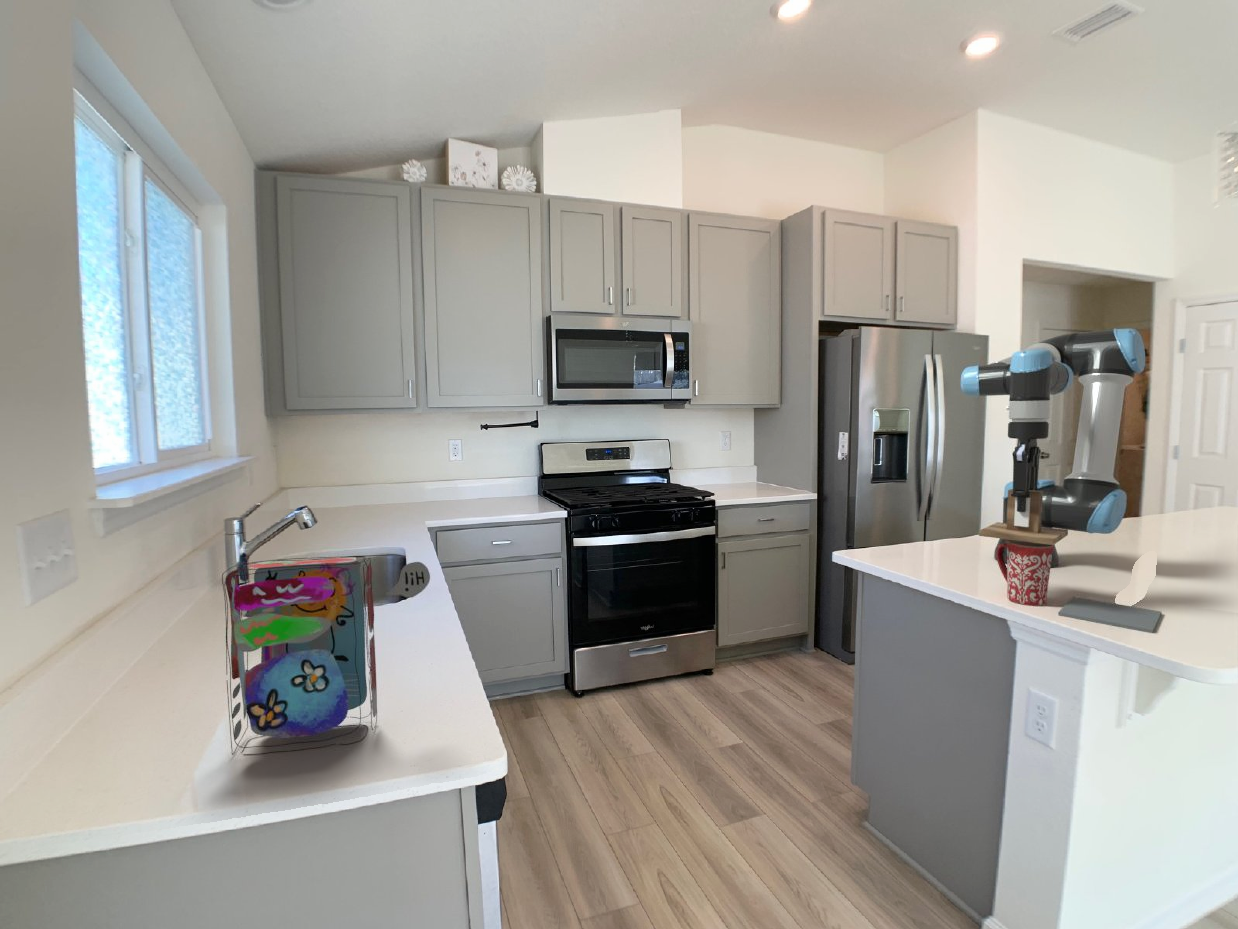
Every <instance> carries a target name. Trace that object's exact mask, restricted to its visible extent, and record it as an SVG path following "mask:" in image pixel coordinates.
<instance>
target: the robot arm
mask: <svg viewBox="0 0 1238 929" xmlns="http://www.w3.org/2000/svg"><path fill="white" fill-rule="evenodd" d="M1145 350H1146V349H1145V344H1144V340H1143V338H1142V335H1141V334H1140V332H1139V331H1138V330H1137V329H1135V328H1112V329H1106V330H1105V329H1104V330H1096V331H1095V330H1094V331H1085V332H1084V331H1083V332H1072V333H1065V334H1060V335H1057V336H1054V337H1051V338H1048V339H1044V340H1041V341H1039V342H1037V343H1033V344H1032V345H1030V346H1028V347H1026V349H1025V350H1019V351H1015V352H1014V353H1012V355H1011V356H1008V357H1007V358H1004V359H1001V360H998V361H996V362H992V363H989V364H984V365H978V364H977V365H974V366H967V367H965V368H964V370H963V371H962V372H961V377H960V388H961V391H962V393H963V394H964V395H965V396H968V397H989V396H991V397H992V396H993V397H994V396H1009V403H1008V404H1009V405H1007V406H1006V407H1005V409H1006V410H1007V411H1008V419H1010V420H1011V421H1009V423H1007V424H1008V425H1007V437H1008V438H1009V439H1017V444H1016V446H1015V447H1014V451H1012V461H1013V464H1012V465H1013V466H1012V467H1013V468H1012V481H1010V482H1007V483H1006V484H1005V485H1004V491H1003V497H1002V500H1003V505H1002V507H1003V509H1002V510H1003V511H1002V523H1007V502H1008V490H1010V489H1013V494H1011V497H1015V517H1014V526H1023V527H1029V518H1030V498H1028V497H1029V490H1033V491H1043V498H1042V519H1041V527H1046V528H1056V529H1065V530H1068V531H1076V532H1083V533H1088V534H1101V535H1102V534H1104V535H1106V534H1109V535H1110V534H1112V533H1113V532H1115V531H1116V530H1117V529H1118V528H1119V526H1120V525H1121V523H1122V521H1123V519H1124V515H1125V513H1126V510H1127V499H1128V498H1127V493H1126V491H1124V490H1122V489H1121V488H1120V483H1119V481H1118V480H1116V479H1115V477H1114V471H1115V465H1116V456H1117V450H1118V449H1117V447H1118V442H1119V434H1120V433H1119V432H1120V428H1121V427H1120V426H1121V420H1122V411H1123V407H1124V406H1123V404H1124V398H1125V389H1126V387H1127V386H1128V385H1130V384H1132V383H1133V382H1134V378H1135V374H1136V375H1137V374H1140V373H1142V372H1144V370H1145V367H1146V351H1145ZM1075 376H1077V381H1078V382H1079V383H1080V384H1081V385H1083V392H1082V398H1081V405H1080V412H1079V413H1080V414H1079V418H1078V420H1079V421H1078V426H1077V427H1078V428H1077V435H1076V443H1075V450H1074V455H1073V463H1072V470H1071V471H1072V472H1071V473H1070V474H1069V475H1067V476H1065V477H1064V479H1063V484H1062V485H1058V484H1057V485H1056V482H1055V479H1047V478H1046V479H1044V478H1043V479H1041V478H1040V479H1039V469H1040V468H1039V466H1040V458H1041V452H1042V450H1041V448H1040V446H1038V440H1043V439H1044V440H1045V439H1047V438H1048V437H1049V429H1050V428H1049V427H1050V426H1049V425H1050V423H1049V422H1048V421H1047V420H1049V419H1050V414H1051V413H1050V412H1051V411H1050V410H1051V408H1050V406H1051V401H1050V400H1051V395H1057V394H1061V393H1064V392H1066V390H1068V389H1069V388H1070V387H1071V386H1072V384H1073V382H1074V377H1075ZM998 539H999V540H998V542H997V544H996V546H995V548H994V556H993V558H994V559H995V560H996V561H997V549H998V547H999V545H1001V544H1005V543H1007V542H1006V540H1007V539H1000V538H998ZM1003 556H1004V561H1005V564H1007V547H1006V548H1005V549H1004V553H1003ZM1059 560H1060V557H1059V554H1058V551H1057V548H1056V544H1054V548H1053V552H1052V560H1051V567H1050V568H1055V567H1057V566H1059Z"/></svg>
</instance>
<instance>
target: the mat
mask: <svg viewBox="0 0 1238 929" xmlns="http://www.w3.org/2000/svg"><path fill="white" fill-rule="evenodd" d="M1162 612H1163V611H1160V610H1154V609H1149V608H1142V607H1138V606H1137V607H1136V606H1132V605H1131V606H1130V605H1124V604H1118V603H1113V602H1107V601H1101V600H1095V599H1090V598H1083V597H1078V596H1072V597H1071V599H1069V600H1068V602H1066V604H1064V605H1063V607H1062V608H1061V609H1060V610H1059V611H1058V612H1057V613H1058V616H1061V617H1067V618H1072V619H1078V620H1082V621H1087V622H1094V623H1098V624H1104V625H1109V626H1113V627H1117V628H1118V627H1120V628H1125V629H1130V630H1135V631H1141V632H1144V633H1151V634H1153V633H1155V632H1154V631H1155V629H1156V627H1157V625H1158V623H1159V620H1160V618H1161V617H1162Z"/></svg>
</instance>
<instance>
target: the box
mask: <svg viewBox="0 0 1238 929" xmlns="http://www.w3.org/2000/svg"><path fill="white" fill-rule="evenodd" d="M357 558H358V559H363V560H362V561H359V560H357ZM366 559H367V560H366ZM365 560H366V561H365ZM368 561H369V563H368ZM361 563H365V564H363V565H362V566H363V567H362V572H363V575H365V577H363V588H362V582H361V572H360V571H361V570H360V569H361ZM371 563H372V562H371V558H370V557H368V558H366V556H363V555H352V556H349V555H348V556H345V557H337V556H328V557H327V556H323V557H319V556H318V557H316V558H312V559H307V557H300V558H299V557H295V558H292V559H288V558H283V559H282V558H281V559H276V560H275V559H270V560H269V559H268V560H267V561H265V560H261V561H258V562H257V561H252V562H251V561H250V562H246V563H245V564H242V565H238V564H236V565H233V566H232V567H229V568H228V569H226V570H225V571H224V572H222V574H221V583H222V589H223V590H222V591H223V595H224V596H223V597H224V598H225V599H224V607H225V612H224V613H225V615H226V617H225V647H226V648H225V650H226V651H225V653H226V656H225V657H226V661H225V664H226V674H228V664H230V665H229V683H228V681H226V690H227V694H229V692H230V696H232V699H234V700H235V699H236V698H237V696H238V695H239V692H240V691H241V698H242V706H243V710H242V711H243V720H245V719H246V723H247V724H246V725H247V726H246V729H245V731H244V733H243V734H242V736H241V738H240V739H239V741H238V743H237V742H236V740H237V739H238V738H239V736H240V734H241V731H242V727H243V726H242V725H243V724H242V720H241V718H240V719H239V720H238V721H237V722H236V723H235V726H234V719H235V718H236V717H237V715H238V713H239V712H240V710H241V701H240V702H237V704H236V705H235V706H234V707H233V705H232V702H233V700H230V701H229V697H230V696H227V705H228V707H227V708H228V709H230V710H228V718H229V723H231V722H232V723H231V724H232V728H231V724H229V733H230V737H232V734H233V740H234V743H235V744H236V747H235V750H234V751H233V752H232V753H231V755H232V756H234V754H236V751H237V750H238V747H239V748H241V749H242V750H241V752H240V753H241V754H242V755H243V756H256V755H257V756H258V755H264V754H270V753H271V754H272V753H274V751H269V752H260V753H243V751H245V749H251V748H258V747H263V748H265V747H266V748H268V747H269V748H271V747H272V745H254V746H248V747H247V745H248V743H249V741H251V740H253V739H257V738H262V737H270V738H271V737H272V738H279V739H282V738H283V739H284V738H285V739H287V738H298V737H299V738H301V737H309V736H310V737H311V736H313V735H317V734H320V733H324V732H327V731H330V730H333V729H335V728H340V727H341V728H342V727H343V728H344V725H341V724H342V723H344V720H345V719H346V718H347V717H348V716H347V715H348V713H349V711H350V710H354V709H356V708H358V707H361V706H362V705H363V704H364V703H365V702H366V701H367V700H366V699H367V697H368V690H370V692H369V700H370V701H369V703H370V713H369V714H368V715H366V716H363V717H362V710H361V708H359V712H360V713H359V715H360V716H359V717H356V716H351V718H352V719H353V718H355V719H359V724H358V725H357V727H356V728H355V729H354V730H352V731H350V732H348V733H345V734H341V735H338V736H333V737H331V738H327V739H323V740H320V742H323V741H329V740H332V739H335V738H339V737H343V736H346V735H348V734H349V735H350V734H352V733H353V732H355V731H356V730H357V729H358V728H359V727H360V726H364V727H366V734H365V735H364V737H363V738H362V739H360V740H357V741H355V742H350V743H340V745H341V746H342V745H343V746H344V745H347V746H348V745H353V744H356V743H359V742H361V741H363V740H364V739H365V737H367V735H368V734H367V733H368V732H369V731H368V730H369V727H368V725H366V724H361V721H362V719H364V718H367V717H369V716H370V725H371V730H372V731H374V730H375V729H376V726H377V723H378V695H377V694H378V692H377V690H378V689H377V688H378V687H377V664H376V644H375V643H376V642H375V641H376V640H375V626H374V623H375V608H374V597H373V596H374V595H373V586H372V583H373V582H372V578H373V570H372V565H371ZM245 565H249V566H248V567H249V569H247V568H246V569H245V570H244V566H245ZM365 565H366V573H365ZM235 567H237V569H234V570H232V571H230V572H229V573H228V574H227V575H226V577H225V581H224V578H223V577H224V576H223V575H224V574H225V573H226V572H228V571H229V570H230V569H233V568H235ZM239 569H241V570H242V572H243V574H240V572H239ZM252 570H253V571H254V572H253V573H252V575H253V582H252V583H248V584H247V582H246V576H250V575H251V573H247V574H245V571H252ZM399 575H400V576H399V579H398V582H397V583H396V584H395V585H394V587H392V588H391V589H390V590H388V591H387V592H384V594H385V595H386V596H388V597H394V596H402V597H404V598H408V599H410V598H411V599H412V598H414V597H415V596H418V595H419V594H420V593H422V592H423V591H424V590H425V589H426V588H427V586H428V585H429V583H430V580H431V573H430V571H429V569H428V567H427V566H426V565H425V564H424V563H423V562H421V561H414V562H413V561H412V562H410V563H407V564H405V565H404V566H403V567H402V569H401V570H400V574H399ZM241 576H243V577H244V584H243V585H241V586H240V577H241ZM366 585H367V586H368V589H367V591H366V589H365V588H366ZM369 586H370V587H369ZM365 596H366V597H365ZM228 602H229V604H228ZM366 603H367V606H366ZM256 608H257V614H255V615H254V614H253V615H252V616H248V617H247V618H243V612H246V611H247V612H249V611H252V610H254V609H256ZM229 609H230V611H229ZM229 612H230V625H231V632H230V633H231V636H230V638H231V639H230V651H229V644H228V641H229V640H228V629H229V626H228V623H229ZM368 632H369V633H370V634H371V633H372V636H371V638H370V639H369V635H368V634H369V633H368ZM368 647H369V649H367V650H366V648H368ZM259 649H261V651H260V652H261V660H260V661H261V662H260V663H258V664H256V665H254V666H253V667H251V668H249V666H248V664H249V662H248V661H249V653H251V652H255V651H257V650H259ZM229 652H230V653H229ZM244 652H245V653H246V666H245V653H244ZM366 657H367V660H366ZM366 661H367V662H368V663H367V662H366ZM366 663H367V667H368V668H369V672H368V675H369V681H368V684H367V673H366V668H367V667H366ZM246 668H247V669H246ZM236 679H239V680H240V682H239V683H238V684H237V685H236V686H235V688H233V691H232V688H231V686H232V681H231V680H236ZM367 685H368V686H369V688H368V686H367ZM230 712H231V713H230ZM373 718H376V720H375V725H374V728H373V720H372V719H373ZM249 723H250V729H251V731H252V733H254V734H256V735H257V736H256V737H252V738H250V739H249V740H248V741H246V743H245V744H244V746H241V745H240V742H241V741H242V739H243V737H244V735H246V731H247V730H248V728H249ZM350 726H351V727H353V726H356V724H351V725H346V727H350ZM232 732H233V733H232ZM315 742H318V740H313V741H312V740H311V741H310V743H315ZM304 743H307V744H308V741H299V742H296V744H304ZM293 744H295V742H290V743H284V744H277V745H274V747H279V746H280V747H281V746H287V745H293ZM334 745H335V743H332V744H327V745H324V746H318V747H316V749H321V748H326V747H330V746H334ZM230 747H231V750H233V742H232V739H230ZM312 749H315V747H310V748H309V747H308V748H301V749H293V750H291V752H296V751H304V750H312ZM283 752H284V753H285V752H287V753H288V750H279V751H278V750H277V751H275V753H283Z"/></svg>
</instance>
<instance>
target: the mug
mask: <svg viewBox="0 0 1238 929" xmlns="http://www.w3.org/2000/svg"><path fill="white" fill-rule="evenodd" d="M1006 542H1007V543H1005V544H1001V545H999V547H998V549H997V560H996V562H997V564H998V567H999V569H1000V572H1001V574H1002V576H1003V578H1004V579H1005V580H1004V581H1005V582H1006V583H1007V584H1006V585H1007V586H1006V587H1007V589H1006V590H1007V591H1006V592H1007V593H1006V594H1007V595H1006V596H1007V599H1008V601H1010V602H1013V603H1015V604H1020V605H1024V606H1025V605H1026V606H1032V607H1033V606H1034V607H1037V606H1038V607H1040V606H1045V605H1047V601H1048V600H1047V598H1048V589H1049V583H1050V582H1049V581H1050V573H1051V568H1052V567H1051V560H1052V552H1053V548H1054V545H1049V544H1041V543H1033V542H1025V541H1017V540H1008V539H1007V540H1006ZM1006 547H1007V563H1005V561H1004V556H1003V553H1004V549H1005V548H1006Z"/></svg>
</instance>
